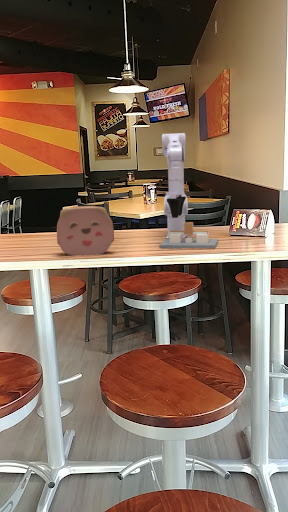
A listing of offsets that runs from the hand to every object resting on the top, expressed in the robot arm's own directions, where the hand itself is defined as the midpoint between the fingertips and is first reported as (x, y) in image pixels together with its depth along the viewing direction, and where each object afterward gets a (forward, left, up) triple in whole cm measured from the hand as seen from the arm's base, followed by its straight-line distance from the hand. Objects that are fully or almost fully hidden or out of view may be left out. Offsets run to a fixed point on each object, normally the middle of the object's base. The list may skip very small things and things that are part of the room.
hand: (176, 216), depth 167 cm
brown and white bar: (+3, +5, -6) cm, 8 cm away
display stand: (+3, +5, -10) cm, 12 cm away
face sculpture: (+21, -29, -11) cm, 37 cm away
